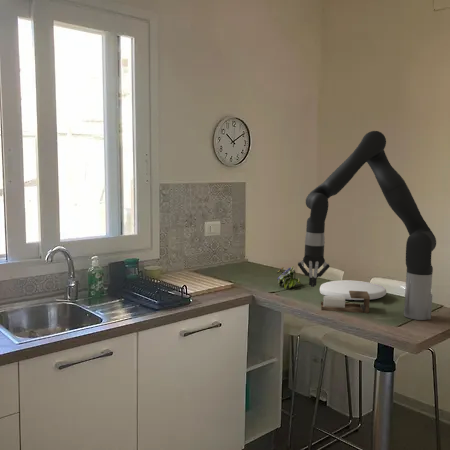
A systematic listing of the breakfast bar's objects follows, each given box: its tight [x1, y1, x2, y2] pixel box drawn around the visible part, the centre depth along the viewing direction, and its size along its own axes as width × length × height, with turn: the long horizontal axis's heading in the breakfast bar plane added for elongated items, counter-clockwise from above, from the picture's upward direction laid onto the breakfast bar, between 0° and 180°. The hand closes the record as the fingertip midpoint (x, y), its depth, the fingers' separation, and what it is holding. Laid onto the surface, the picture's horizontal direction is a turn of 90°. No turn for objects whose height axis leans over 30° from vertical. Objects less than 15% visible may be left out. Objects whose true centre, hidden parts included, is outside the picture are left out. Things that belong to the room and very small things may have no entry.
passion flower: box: [276, 266, 302, 290], centre depth 243 cm, size 11×11×12 cm
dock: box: [320, 291, 370, 314], centre depth 205 cm, size 18×8×7 cm, turn 81°
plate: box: [319, 279, 387, 301], centre depth 228 cm, size 28×6×27 cm
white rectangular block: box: [323, 295, 346, 308], centre depth 206 cm, size 8×5×4 cm, turn 81°
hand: (312, 286), depth 207 cm, fingers closed
